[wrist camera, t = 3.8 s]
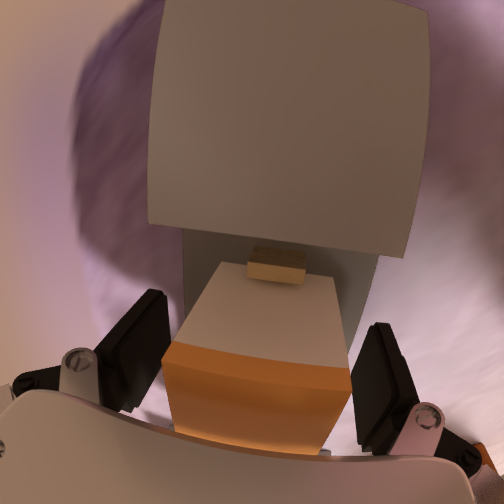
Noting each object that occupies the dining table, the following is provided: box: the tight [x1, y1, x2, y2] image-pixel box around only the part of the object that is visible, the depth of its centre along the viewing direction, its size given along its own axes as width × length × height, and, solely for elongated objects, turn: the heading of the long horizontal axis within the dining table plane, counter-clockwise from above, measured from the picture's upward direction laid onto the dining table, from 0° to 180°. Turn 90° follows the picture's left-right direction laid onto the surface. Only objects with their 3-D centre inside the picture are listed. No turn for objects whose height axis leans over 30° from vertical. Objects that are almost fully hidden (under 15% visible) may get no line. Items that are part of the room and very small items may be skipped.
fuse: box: [147, 0, 430, 258], centre depth 7 cm, size 5×5×6 cm
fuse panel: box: [183, 228, 379, 356], centre depth 12 cm, size 8×23×3 cm, turn 175°
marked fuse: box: [161, 262, 352, 455], centre depth 10 cm, size 5×5×6 cm
